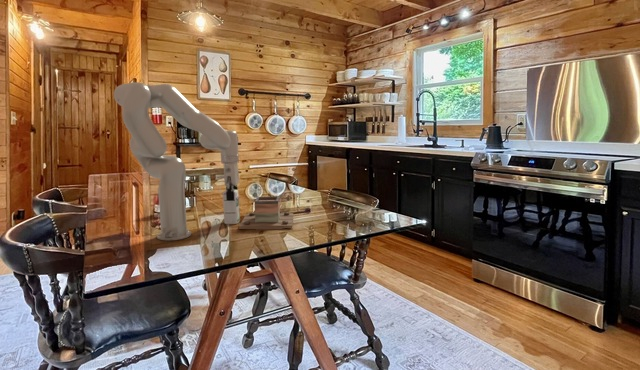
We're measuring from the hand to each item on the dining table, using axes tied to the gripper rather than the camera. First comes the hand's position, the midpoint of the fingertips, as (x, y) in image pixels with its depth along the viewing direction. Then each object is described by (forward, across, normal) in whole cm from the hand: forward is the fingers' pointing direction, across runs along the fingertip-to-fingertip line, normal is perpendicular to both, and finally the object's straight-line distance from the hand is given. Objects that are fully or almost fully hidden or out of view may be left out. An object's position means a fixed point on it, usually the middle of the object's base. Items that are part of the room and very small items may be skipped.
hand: (232, 197), depth 174 cm
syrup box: (+11, -1, +1) cm, 11 cm away
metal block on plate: (+11, -2, -15) cm, 19 cm away
